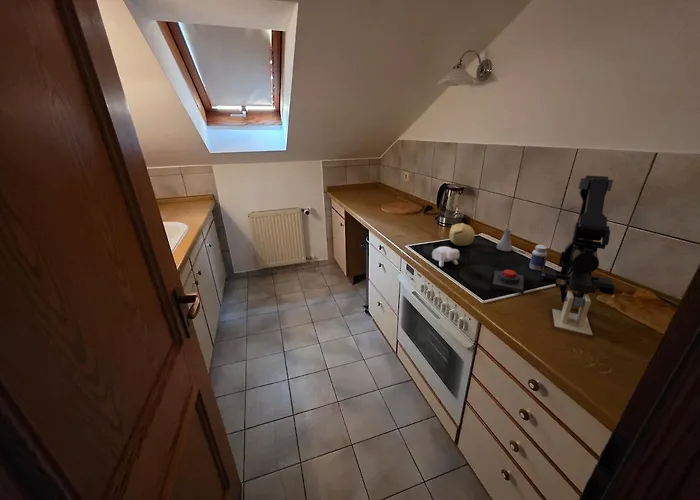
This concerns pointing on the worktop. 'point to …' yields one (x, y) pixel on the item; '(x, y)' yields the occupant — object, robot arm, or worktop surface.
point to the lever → (576, 300)
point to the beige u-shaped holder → (573, 316)
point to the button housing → (508, 282)
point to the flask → (505, 241)
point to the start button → (509, 273)
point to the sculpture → (461, 234)
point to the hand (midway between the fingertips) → (568, 303)
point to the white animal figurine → (445, 255)
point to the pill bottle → (538, 257)
